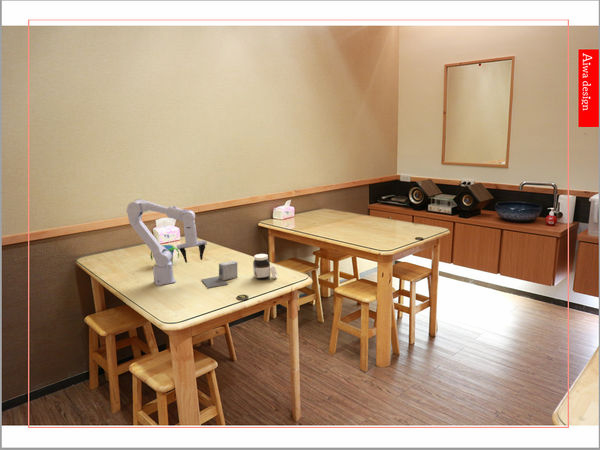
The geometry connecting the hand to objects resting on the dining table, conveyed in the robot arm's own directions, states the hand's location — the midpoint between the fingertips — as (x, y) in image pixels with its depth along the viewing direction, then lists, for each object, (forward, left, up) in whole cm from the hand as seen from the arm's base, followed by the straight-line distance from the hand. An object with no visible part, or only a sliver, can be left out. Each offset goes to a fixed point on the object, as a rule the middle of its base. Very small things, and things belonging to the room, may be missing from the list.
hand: (193, 260), depth 223 cm
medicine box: (+11, -7, -6) cm, 15 cm away
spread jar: (+33, -15, -11) cm, 37 cm away
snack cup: (-8, +36, -11) cm, 38 cm away
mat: (+8, -8, -10) cm, 15 cm away
